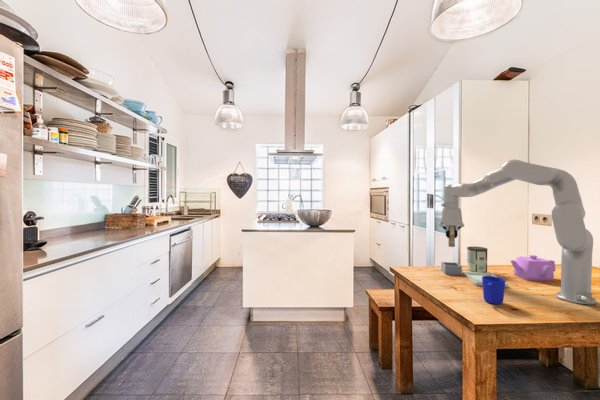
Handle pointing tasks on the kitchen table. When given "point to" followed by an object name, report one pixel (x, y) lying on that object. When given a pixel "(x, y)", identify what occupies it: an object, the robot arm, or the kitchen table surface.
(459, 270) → the grey square bin
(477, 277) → the tray
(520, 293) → the kitchen table surface
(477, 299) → the kitchen table surface
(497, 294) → the mug
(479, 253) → the coffee can
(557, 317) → the kitchen table surface
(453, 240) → the dowel
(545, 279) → the teakettle
